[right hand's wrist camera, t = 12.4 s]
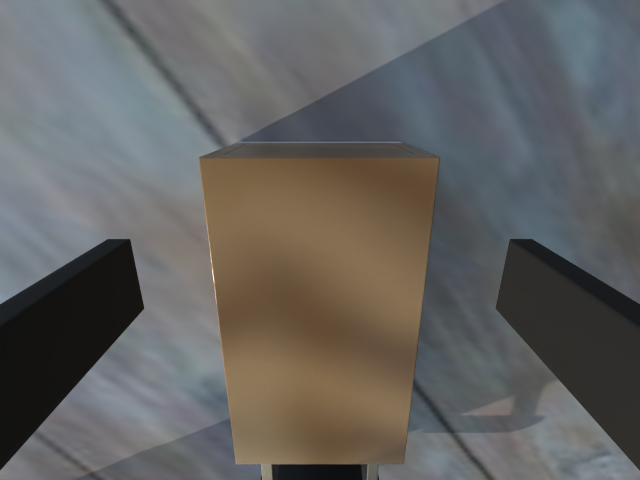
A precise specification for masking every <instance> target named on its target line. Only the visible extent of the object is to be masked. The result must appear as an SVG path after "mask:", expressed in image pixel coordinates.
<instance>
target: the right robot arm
mask: <svg viewBox="0 0 640 480" xmlns="http://www.w3.org/2000/svg"><path fill="white" fill-rule="evenodd" d="M143 309H144V305H143V300H142V295H141V290H140V285H139V281H138V276H137V271H136V266H135V261H134V256H133V251H132V246H131V241H130V239H107V240H106V241H104V242H102V243H101V244H99V245H97V246H96V247H94V248H93V249H91V250H89V251H88V252H86V253H84V254H83V255H81V256H79V257H78V258H76V259H74V260H73V261H71V262H69V263H68V264H66V265H64V266H63V267H61V268H60V269H58V270H56V271H55V272H53V273H51V274H50V275H48V276H46V277H45V278H43V279H41V280H40V281H38V282H36V283H35V284H33V285H31V286H30V287H28V288H26V289H25V290H23V291H22V292H20V293H18V294H17V295H15V296H13V297H12V298H10V299H8V300H7V301H5V302H3V303H2V304H0V470H1V469H2V468H3V467H4V466H5V464H6V463H7V462H8V461H9V460H10V459H11V458H12V457H13V455H14V454H15V453H16V452H17V451H18V450H19V449H20V448H21V446H22V445H23V444H24V443H25V442H26V441H27V440H28V439H29V437H30V436H31V435H32V434H33V433H34V432H35V431H36V430H37V428H38V427H39V426H40V425H41V424H42V423H43V422H44V421H45V419H46V418H47V417H48V416H49V415H50V414H51V413H52V412H53V410H54V409H55V408H56V407H57V406H58V405H59V404H60V403H61V401H62V400H63V399H64V398H65V397H66V396H67V395H68V394H69V392H70V391H71V390H72V389H73V388H74V387H75V386H76V385H77V383H78V382H79V381H80V380H81V379H82V378H83V377H84V376H85V374H86V373H87V372H88V371H89V370H90V369H91V368H92V367H93V365H94V364H95V363H96V362H97V361H98V360H99V359H100V358H101V356H102V355H103V354H104V353H105V352H106V351H107V350H108V349H109V347H110V346H111V345H112V344H113V343H114V342H115V341H116V340H117V338H118V337H119V336H120V335H121V334H122V333H123V332H124V331H125V330H126V328H127V327H128V326H129V325H130V324H131V323H132V322H133V321H134V319H135V318H136V317H137V316H138V315H139V314H140V313H141V312H142V310H143ZM496 309H497V310H498V312H499V313H500V314H501V315H502V316H503V317H504V318H505V319H506V321H507V322H508V323H509V324H510V325H511V326H512V327H513V328H514V330H515V331H516V332H517V333H518V334H519V335H520V336H521V337H522V338H523V340H524V341H525V342H526V343H527V344H528V345H529V346H530V347H531V349H532V350H533V351H534V352H535V353H536V354H537V355H538V356H539V358H540V359H541V360H542V361H543V362H544V363H545V364H546V365H547V367H548V368H549V369H550V370H551V371H552V372H553V373H554V374H555V376H556V377H557V378H558V379H559V380H560V381H561V382H562V383H563V385H564V386H565V387H566V388H567V389H568V390H569V391H570V392H571V394H572V395H573V396H574V397H575V398H576V399H577V400H578V401H579V403H580V404H581V405H582V406H583V407H584V408H585V409H586V410H587V412H588V413H589V414H590V415H591V416H592V417H593V418H594V419H595V421H596V422H597V423H598V424H599V425H600V426H601V427H602V428H603V430H604V431H605V432H606V433H607V434H608V435H609V436H610V437H611V439H612V440H613V441H614V442H615V443H616V444H617V445H618V446H619V448H620V449H621V450H622V451H623V452H624V453H625V454H626V455H627V457H628V458H629V459H630V460H631V461H632V462H633V463H634V464H635V466H636V467H637V468H638V469H639V470H640V304H638V303H637V302H635V301H633V300H632V299H630V298H628V297H627V296H625V295H623V294H622V293H620V292H618V291H617V290H615V289H614V288H612V287H610V286H609V285H607V284H605V283H604V282H602V281H600V280H599V279H597V278H595V277H594V276H592V275H590V274H589V273H587V272H585V271H584V270H582V269H580V268H579V267H577V266H576V265H574V264H572V263H571V262H569V261H567V260H566V259H564V258H562V257H561V256H559V255H557V254H556V253H554V252H552V251H551V250H549V249H547V248H546V247H544V246H542V245H541V244H539V243H538V242H536V241H534V240H533V239H510V241H509V246H508V251H507V256H506V261H505V266H504V271H503V276H502V281H501V285H500V290H499V295H498V300H497V305H496Z"/></svg>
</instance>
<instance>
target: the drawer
mask: <svg viewBox="0 0 640 480" xmlns="http://www.w3.org/2000/svg"><path fill="white" fill-rule="evenodd" d="M378 466H379V464H261V472H262V475H261V480H379V476H378Z"/></svg>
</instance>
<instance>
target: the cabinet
mask: <svg viewBox="0 0 640 480" xmlns="http://www.w3.org/2000/svg"><path fill="white" fill-rule="evenodd" d="M439 162H440V157H438V156H435V155H432V154H430V153H427V152H425V151H422V150H420V149H417V148H414V147H412V146H409V145H407V144H404V143H403V142H236V143H235V144H232V145H230V146H227V147H225V148H222V149H220V150H217V151H215V152H212V153H210V154H207V155H204V156H202V157H199V166H200V174H201V182H202V190H203V198H204V207H205V215H206V223H207V231H208V240H209V248H210V256H211V264H212V272H213V281H214V289H215V297H216V305H217V314H218V322H219V330H220V338H221V346H222V355H223V363H224V371H225V379H226V388H227V396H228V404H229V412H230V420H231V429H232V437H233V445H234V453H235V462H236V464H404V458H405V449H406V441H407V432H408V424H409V415H410V407H411V398H412V390H413V382H414V373H415V365H416V356H417V348H418V339H419V331H420V322H421V314H422V305H423V297H424V289H425V280H426V272H427V263H428V255H429V246H430V238H431V229H432V221H433V213H434V204H435V196H436V187H437V179H438V170H439Z"/></svg>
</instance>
